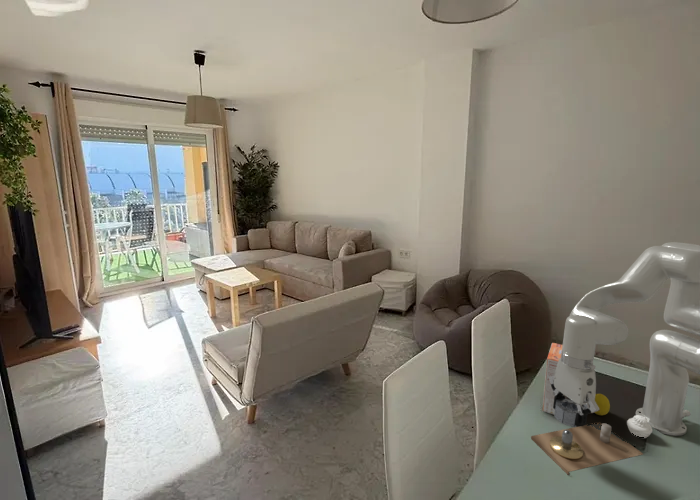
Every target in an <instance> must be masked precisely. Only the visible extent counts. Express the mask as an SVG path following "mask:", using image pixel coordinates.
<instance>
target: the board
mask: <svg viewBox="0 0 700 500" xmlns="http://www.w3.org/2000/svg"><path fill="white" fill-rule="evenodd" d="M593 423H594V424H595V423H597V425H598V424H599V423H600V425H602V426H601V430H598V429H596V428H595V427H594V426H593V427H592V426H591V425H590V426H587V425H588V424H586V425H585V426H580V427H570V428H564V429H558V430H554V431H550V432H549V431H548V432H544V433H540V434H539V433H538V434H535V435H531V437H530V440H531V441H532V442H533V443H535V444H536V445H537V446H538V447H539V448H540V449H541V450H542V451H543V452H544V453H545V454H546V455H547V457H549V459H551V460H552V461H553V462H554V463H555V464H556V465H557V466H558V467H559V468H560V469H561V470H562V471H563V472H564V473H565V474H567V475H568V476H569V475H571V473H570V472H575V471H578V470H583V469H588V468H591V467H595V466H596V467H597V466H600V465H603V464H608V463H609V464H610V463H613V462H617V461H621V460H625V459H629V458H630V459H631V458H635V457H638V456H642V455H644V453H643V452H642V451H640V450H639V449H637V448H636V447H634V446H633V445H632V444H630V442H628V441H626V440H625V441H626V442H625V441H622V440H621V439H619V438H617V437H616V436H615V435H613V434H611V431H612V425H610V424H607V423H606V422H605V423H601V421H599V422H593ZM599 428H600V426H599ZM564 430H569V431H571V432H572V434H573V441H574V442H576V443H577V444H578V445H580V447H581V448H582V450H583V457H582V458H581V459H579V460H569V459H566V458H563V457H561V456H559V455H557V454H556V453H555V452H554V451H553V450H552V449H551V447H550V439H551V438H553V437H557V436H560V437H562V433H563V431H564ZM627 442H628V443H627Z"/></svg>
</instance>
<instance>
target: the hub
mask: <svg viewBox="0 0 700 500" xmlns="http://www.w3.org/2000/svg"><path fill="white" fill-rule="evenodd" d="M563 430H564V429H563ZM550 447H551V449H552V450H553V451H554V452H555V453H556V454H557V455H559V456H561V457H563V458H566V459H569V460H579V459H581V458H582V457H583V450H582V448H581V447H580V445H578V444H577V443H576V442H574V441H573V434H572V432H571V431H569V430H564V431H563V433H562V437H560V436H557V437H553V438H551V439H550Z"/></svg>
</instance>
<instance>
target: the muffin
mask: <svg viewBox="0 0 700 500" xmlns="http://www.w3.org/2000/svg"><path fill="white" fill-rule="evenodd" d="M626 425H627V428H628V430H629V432H630V433H631V434H632V433H633V434H634V435H633V434H632V435H633V436H635V435H636V436H635V437H637V436H639V437H644V438H643V439H647V438H648V437H650V435H651V434H652V433H653V427H651V426H650V425H649V423H648V420H647V419H646V418H645V417H643V416H641V415H636V414H635V415H634V416H633V417H630V418H628V420H626ZM639 437H638V438H639Z"/></svg>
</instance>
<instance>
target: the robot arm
mask: <svg viewBox="0 0 700 500" xmlns="http://www.w3.org/2000/svg"><path fill="white" fill-rule="evenodd" d="M669 279H670V286H669V291H668V294H667V297H666V302H665V306H664V310H663V321H664V323H665V324H667V325H668V326H671V327H673V328H675V329H678V330H681V331H684V332H687V333H689V334H693V335H695V336H699V337H700V244H695V243H687V242H679V241H672V242H665V243H663V244H662V245H653V246H650V247H648V248H646V249H645V250H644V251H642V253H641V254H640V255H639V256H638V257H637V258H636V259H635V261H634V262H633V263H632V264H631V265H630V266H629V268H628V269H627V270H626V271H625V272H624V273H623V274H622V276H621V277H620V278H619V279H618V280H616V281H614V282H611V283H606V284H605V285H602V286H600V287H597V288H595V289H593V290H590V291H589V292H588V293H586V294H585V295H584V296H582V297H581V299H580V300H579V301H578V302H577V303H576V304H575V306H574V307H573V308H572V310H571V312H570V313H569V316H567V317H566V319H565V323H564V331H563V341H562V345H563V346H562V353H561V358H560V359H559V361H558V364H557V367H556V371H555V375H554V376H550V377H549V380H550V383H551V387H552V389H553V395H554V396H555V397H554V404H553V408H554V409H555V405H556V400H558V399H566V397H567V399H569V400H572V401H574V402H575V403H576V404H577V408H578V412H579V413H576V419H575V426H577V427H579V426H585V425H587V420H588V415H590V414H595V413H594V412H597V411H599V407H598V405H597V404H596V402H595V394H597V393H596V390H597V378H596V371H595V369H596V365H595V364H594V357H595V352H596V346H597V345H606V346H608V345H609V346H610V345H611V346H613V345H614V346H615V345H618V344H621V343H622V342H625V341H626V339H627V338H628V337H629V327H628V326H627V324H626V323H625V322H624V321H622V320H621V319H619V318H617V317H614V316H611V315H608V314H606V313H604V312H601V311H599V310H600V309H602V308H603V307H606V306H609V305H610V306H611V305H612V304H625V303H627V304H628V303H639V302H640V303H641V302H647V301H649V300H651V299H652V298H653V296H655V294H656V293H657V291H659V290H660V288H661V287H662V286H663V285H664V283H666V281H667V280H669ZM649 353H650V361H649V369H648V375H647V381H646V386H645V392H644V393H645V394H644V399H643V405H642V407H639V408H637V409H636V411H635V416H636V415H641V416H643V417H645V418H646V419H647V420H648V423H649V425H650V426H651V427H652V429H653V430H654V429H655V430H656V431H657V432H658V433H661V434H664V435H668V436H673V437H675V436H676V437H677V436H684V435H685V434H686V433H687V429H688V428H687V425H686V424H685V423H684V422H683V419H684V418H686V417H690V416H691V411H689V410H688V409H684V408H685V404H686V399H687V394H688V389H689V388H688V387H689V383H690V376H689V373H688V371H691V372H693V373H695V374H698V375H700V339H698V338H695V337H693V336H690V335H687V334H684V333H681V332H678V331H674V330H669V329H660V330H656V331H654V332H653V334H652V335H651V336H650V338H649ZM563 394H564V395H565V396H564V395H563ZM582 406H583V407H584V410H583V408H582ZM639 412H641V413H639Z"/></svg>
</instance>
